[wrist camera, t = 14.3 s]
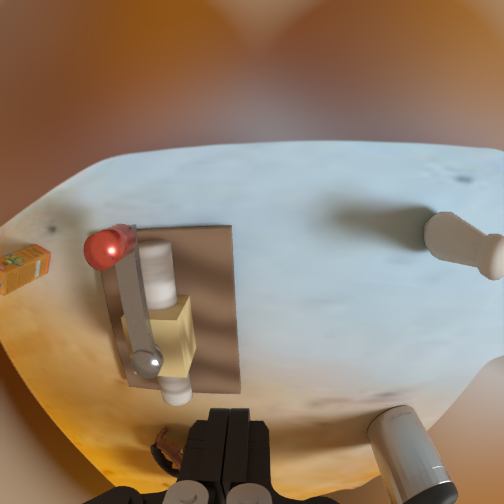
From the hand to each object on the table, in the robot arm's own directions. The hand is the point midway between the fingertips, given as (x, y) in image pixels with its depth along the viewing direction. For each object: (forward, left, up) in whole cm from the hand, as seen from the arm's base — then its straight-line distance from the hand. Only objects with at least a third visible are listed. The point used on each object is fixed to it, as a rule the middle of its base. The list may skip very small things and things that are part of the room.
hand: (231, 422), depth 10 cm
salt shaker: (+3, -23, -24) cm, 34 cm away
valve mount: (-7, +10, -24) cm, 27 cm away
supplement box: (+1, +29, -24) cm, 37 cm away
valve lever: (-1, +10, -15) cm, 18 cm away
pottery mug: (-31, +11, -24) cm, 41 cm away
